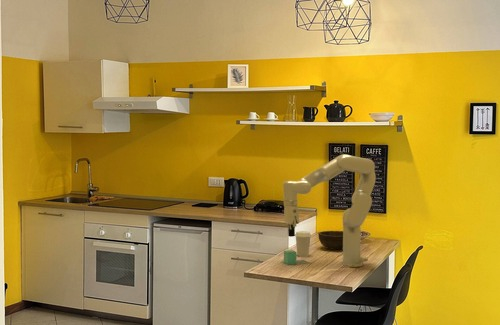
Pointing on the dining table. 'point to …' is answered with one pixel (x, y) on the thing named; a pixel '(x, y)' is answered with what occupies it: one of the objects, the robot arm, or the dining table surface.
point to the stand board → (300, 262)
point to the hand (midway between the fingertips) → (291, 236)
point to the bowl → (331, 239)
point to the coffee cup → (303, 243)
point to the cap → (290, 257)
